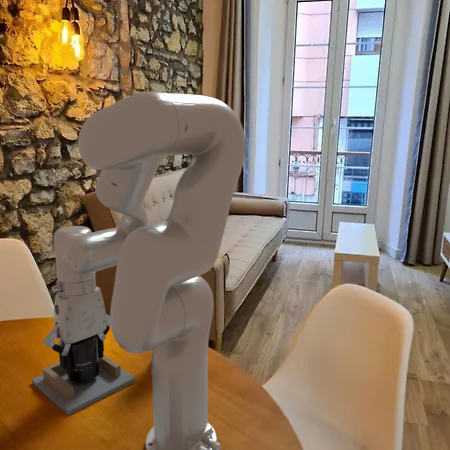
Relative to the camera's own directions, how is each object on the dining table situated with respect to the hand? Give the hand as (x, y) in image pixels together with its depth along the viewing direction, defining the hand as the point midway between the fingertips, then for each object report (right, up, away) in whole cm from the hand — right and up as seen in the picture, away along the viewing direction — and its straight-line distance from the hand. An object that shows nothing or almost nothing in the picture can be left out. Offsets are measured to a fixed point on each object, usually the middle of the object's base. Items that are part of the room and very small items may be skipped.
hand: (83, 361), depth 95 cm
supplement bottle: (0, -3, +1) cm, 3 cm away
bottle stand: (0, -5, +1) cm, 5 cm away
